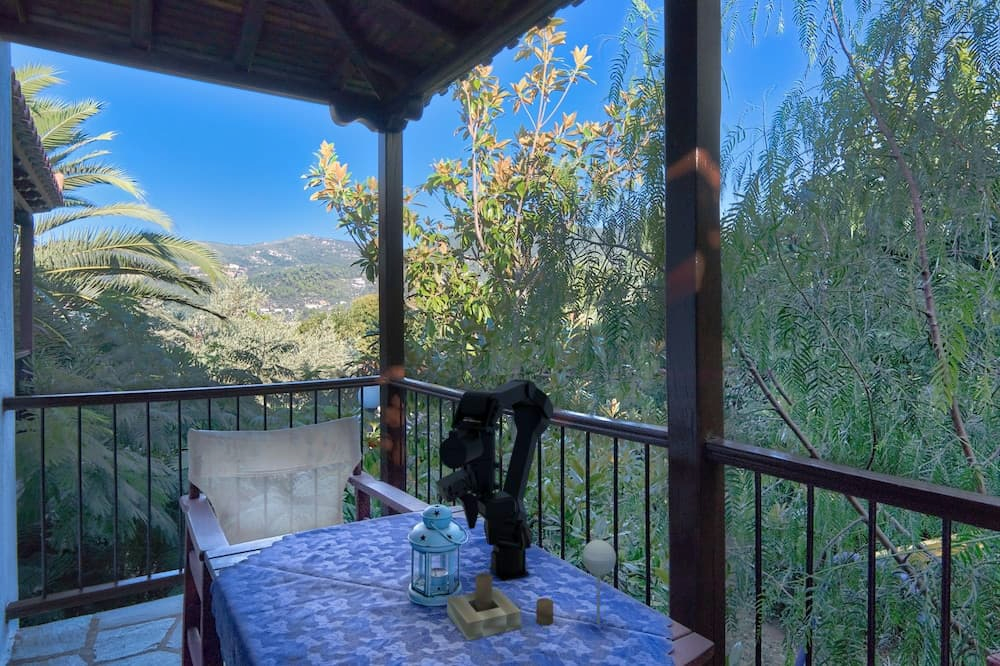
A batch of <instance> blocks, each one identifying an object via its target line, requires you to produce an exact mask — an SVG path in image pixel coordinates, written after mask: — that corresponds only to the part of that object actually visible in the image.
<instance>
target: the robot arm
mask: <svg viewBox="0 0 1000 666" xmlns="http://www.w3.org/2000/svg"><path fill="white" fill-rule="evenodd" d="M509 407H510V409H511V411H512V413H513V417H512V419H513V422H514V425H515V428H516V435H515V439H514V442H513V447H512V450H511V455H510V459H509V462H508V467H507V471H506V474H505V478H504V483H503V485H502V490H501V491H497V490H500V489H501V488H500V483H499V482H498V481H497V478H496V477H497V471H496V469H500V462H499V461H497V459H496V456H497V455H496V453H497V451H496V431H497V430H499V429H500V428H501V427H500V425H499V424H498V420H499V419H501V418H502V417H503V415H504V410H505V409H507V408H509ZM455 410H456V411H455V413H454V417H453V419H452V421H451V425H450V428H451V429H450V430H449V431H448V437H447V438H445V439H444V440H443V441H442V442H441V443H440V447H439V449H438V453H439V458H440V460H441V462H442V463H443V465H444V466H446V467H447V468H448V469H451V470H457V471H453V472H451V473H449V474H447V475H446V476H443V477H441V478H440V479H438V480H437V481H436V482H435V484H436V486H437V489H438V491H439V494H440V497H441V499H443V500H444V501H445V502H447V503H452V502H455V501H456V500H457V499H458V500H459V501H460V502H461V506H462V509H463V513H464V517H465V521H466V523H467V526H468V529H470V530H472V529H475V527H476V523H477V521H478V517H479V515H480V516H481V517H482V518H483V520H484V521H483V529H484V534H485V541H486V544H488V545H489V546H492V547H493V548H492V551H490V566H489V570H490V571H491V572H492V573H493V574H494V576H497V578H499V580H501V581H506V580H511V579H517V578H521V577H522V578H523V577H526V576H527V577H528V576H529V575H530V571H528V570H527V569H526V567H527V565H526V557H527V556H526V555H527V554H526V553H527V552H526V551H527V550H526V549H531V547H532V544H533V541H534V540H533V536H534V532H533V531H532V529H531V528H530V526H529V524H528V523H527V520H528V512H527V510H526V508H525V504H524V498H525V495H526V491H527V485H528V483H529V477H530V474H531V473H530V472H531V470H532V465H533V461H534V457H535V454H536V453H535V451H536V448H537V443H538V440H539V438H540V437H541V436H542V435H543V434H544V432H546V431H547V430H548V428H549V425H550V421H551V420H552V418H553V417H554V406H553V403H552V400H551V399H550V397H549V396H548V394H547V393H545V392H543V390H541V389H539V388H538V387H537V386H536V384H535V381H532V380H531V379H518V378H514V379H511V380H510V381H509V382H507V383H505V384H502V385H499V386H496V387H494V388H492V389H489V390H476V389H475V390H473V389H471V390H465V392H464V393H462V396H461V397H460V399H459V402H458V404H457V408H456V409H455ZM458 469H459V470H458ZM494 491H497V492H494Z"/></svg>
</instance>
